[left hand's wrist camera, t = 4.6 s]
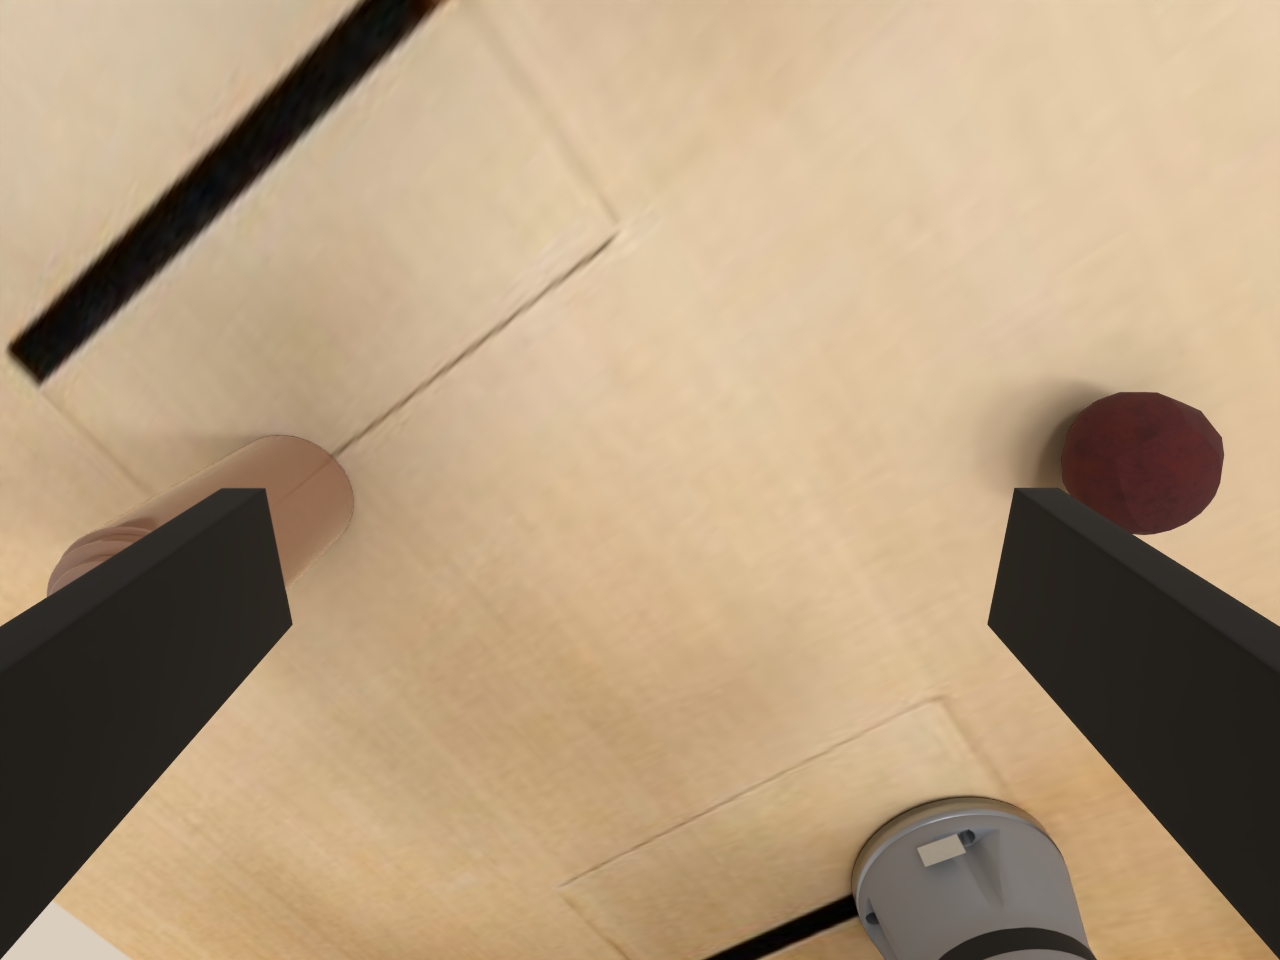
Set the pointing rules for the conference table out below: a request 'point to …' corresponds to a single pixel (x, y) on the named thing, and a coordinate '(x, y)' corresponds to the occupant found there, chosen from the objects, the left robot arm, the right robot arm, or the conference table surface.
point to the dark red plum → (1143, 461)
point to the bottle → (286, 466)
